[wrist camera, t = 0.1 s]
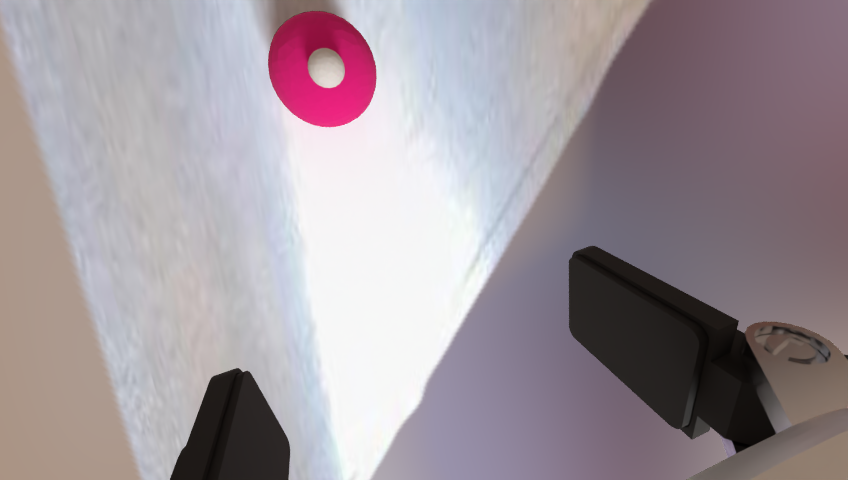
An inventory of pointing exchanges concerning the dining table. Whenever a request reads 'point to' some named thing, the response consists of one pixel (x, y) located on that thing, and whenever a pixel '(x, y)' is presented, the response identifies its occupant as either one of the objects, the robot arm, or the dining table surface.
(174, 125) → the dining table surface
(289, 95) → the pepper mill
